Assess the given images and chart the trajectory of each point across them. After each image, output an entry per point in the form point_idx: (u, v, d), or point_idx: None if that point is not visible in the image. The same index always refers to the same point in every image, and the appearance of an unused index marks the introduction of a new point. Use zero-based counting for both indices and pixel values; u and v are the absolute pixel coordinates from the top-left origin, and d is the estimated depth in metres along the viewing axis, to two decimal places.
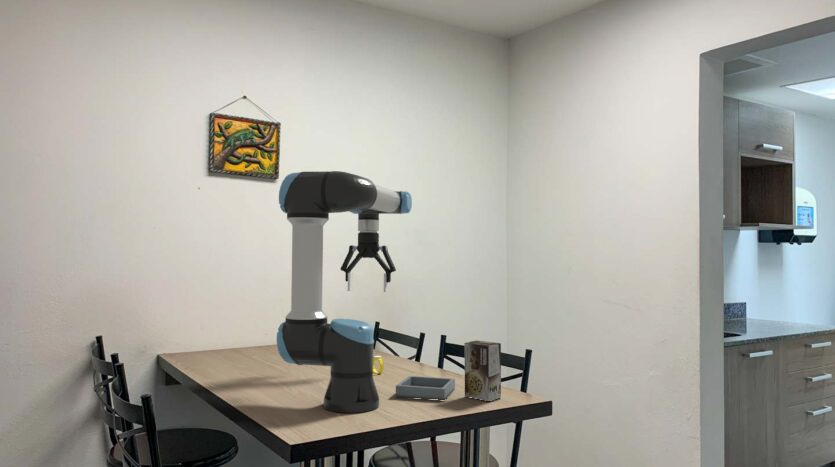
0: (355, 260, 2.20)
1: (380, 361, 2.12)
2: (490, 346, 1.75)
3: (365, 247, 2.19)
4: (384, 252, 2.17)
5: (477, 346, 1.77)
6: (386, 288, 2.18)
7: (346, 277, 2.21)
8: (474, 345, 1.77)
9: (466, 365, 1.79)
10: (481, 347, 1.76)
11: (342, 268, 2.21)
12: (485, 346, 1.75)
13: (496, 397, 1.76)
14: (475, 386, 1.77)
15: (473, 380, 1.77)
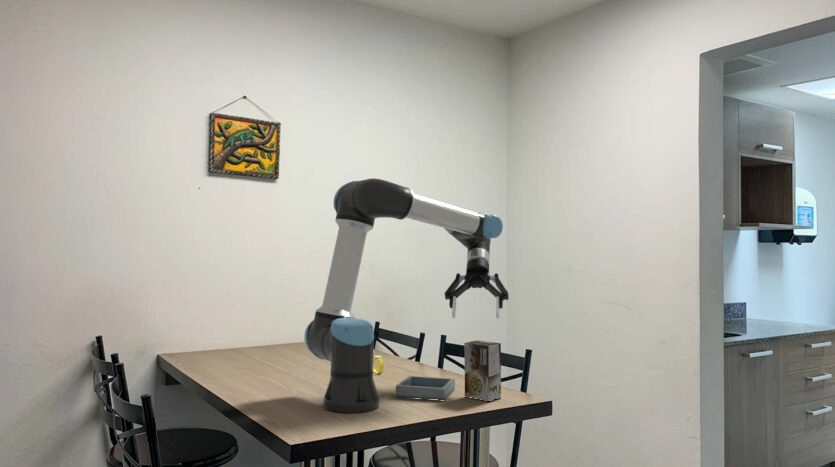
0: (463, 286, 1.98)
1: (380, 361, 2.12)
2: (490, 346, 1.75)
3: (475, 275, 2.00)
4: (497, 279, 1.98)
5: (477, 346, 1.77)
6: (498, 311, 1.89)
7: (450, 301, 1.94)
8: (474, 345, 1.77)
9: (466, 365, 1.79)
10: (481, 347, 1.76)
11: (447, 292, 1.96)
12: (485, 346, 1.75)
13: (496, 397, 1.76)
14: (475, 386, 1.77)
15: (473, 380, 1.77)
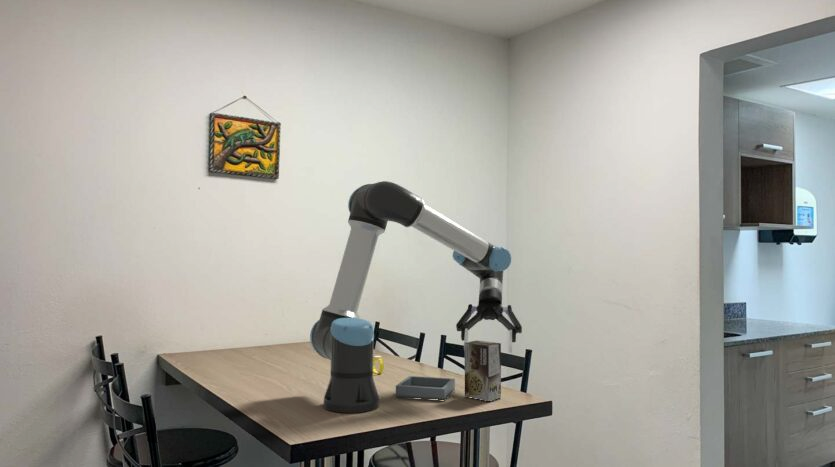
0: (475, 317, 1.93)
1: (380, 361, 2.12)
2: (490, 346, 1.75)
3: (487, 306, 1.96)
4: (510, 311, 1.93)
5: (477, 346, 1.77)
6: (511, 346, 1.85)
7: (462, 334, 1.90)
8: (474, 345, 1.77)
9: (466, 365, 1.79)
10: (481, 347, 1.76)
11: (458, 324, 1.92)
12: (485, 346, 1.75)
13: (496, 397, 1.76)
14: (475, 386, 1.77)
15: (473, 380, 1.77)
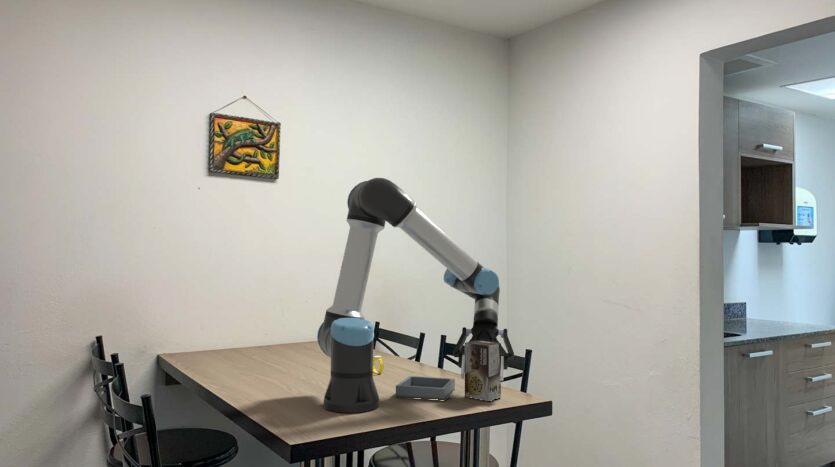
0: None
1: (380, 361, 2.12)
2: (490, 346, 1.75)
3: (482, 327, 1.87)
4: (505, 335, 1.84)
5: (477, 346, 1.77)
6: None
7: (459, 360, 1.80)
8: (474, 345, 1.77)
9: (466, 365, 1.79)
10: (481, 347, 1.76)
11: (455, 350, 1.82)
12: (485, 346, 1.75)
13: (496, 397, 1.76)
14: (475, 386, 1.77)
15: (473, 380, 1.77)
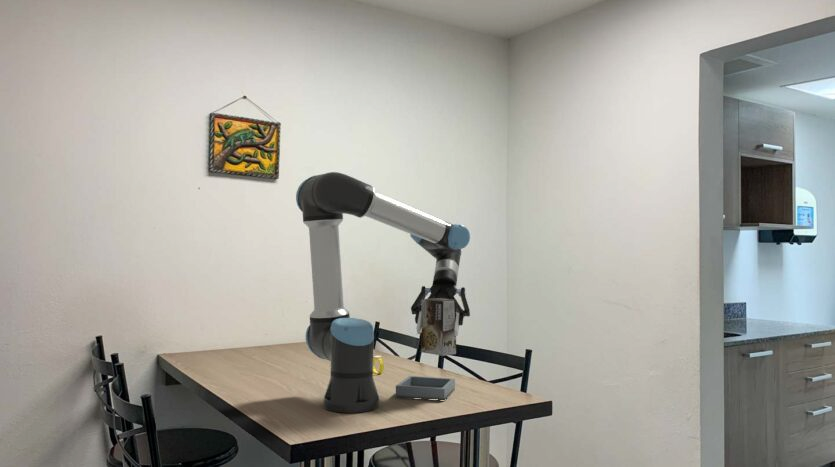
0: None
1: (380, 361, 2.12)
2: (445, 301, 1.79)
3: (441, 286, 1.92)
4: (462, 293, 1.88)
5: (433, 302, 1.81)
6: (457, 328, 1.80)
7: (416, 316, 1.85)
8: (430, 301, 1.82)
9: (423, 321, 1.83)
10: (436, 303, 1.80)
11: (413, 307, 1.87)
12: (440, 301, 1.79)
13: (451, 352, 1.80)
14: (430, 340, 1.81)
15: (429, 335, 1.81)
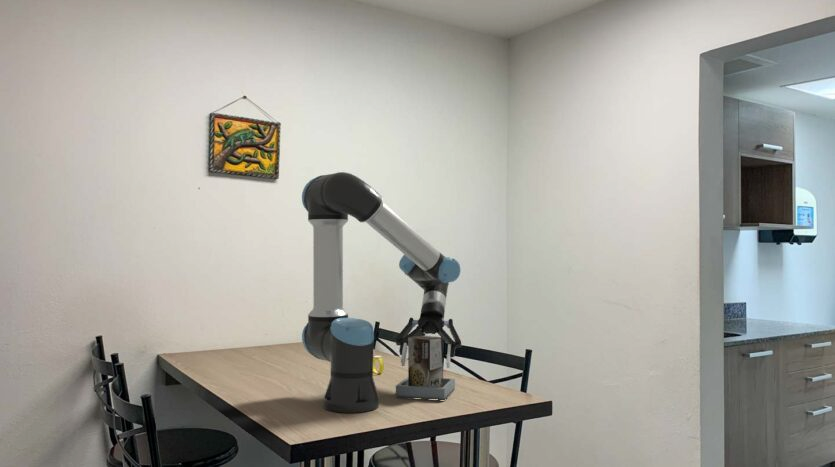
0: (415, 331, 1.89)
1: (380, 361, 2.12)
2: (431, 340, 1.79)
3: (428, 320, 1.92)
4: (451, 325, 1.89)
5: (419, 340, 1.81)
6: (449, 361, 1.80)
7: (400, 348, 1.85)
8: (417, 339, 1.82)
9: (409, 359, 1.84)
10: (423, 341, 1.80)
11: (397, 338, 1.88)
12: (427, 340, 1.79)
13: None
14: (417, 379, 1.81)
15: (416, 374, 1.82)
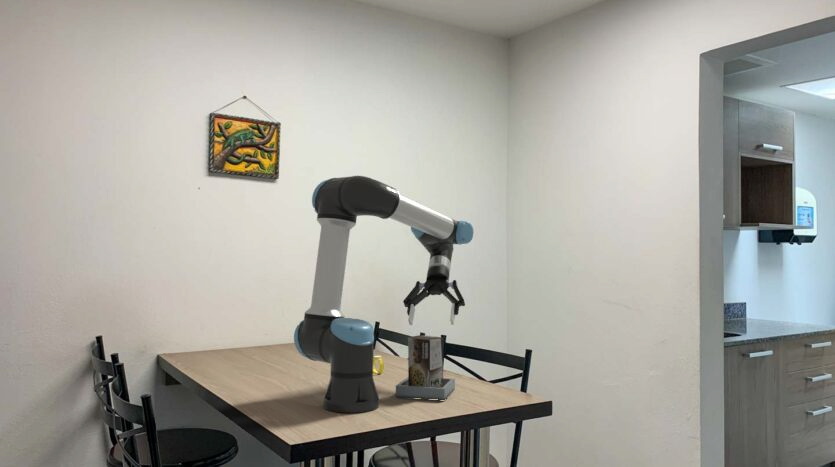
0: (421, 293, 2.02)
1: (380, 361, 2.12)
2: (431, 340, 1.79)
3: (434, 282, 2.05)
4: (454, 285, 2.02)
5: (419, 340, 1.81)
6: (453, 318, 1.93)
7: (408, 309, 1.99)
8: (417, 339, 1.82)
9: (409, 359, 1.84)
10: (423, 341, 1.80)
11: (405, 300, 2.01)
12: (427, 340, 1.79)
13: None
14: (417, 379, 1.81)
15: (416, 374, 1.82)
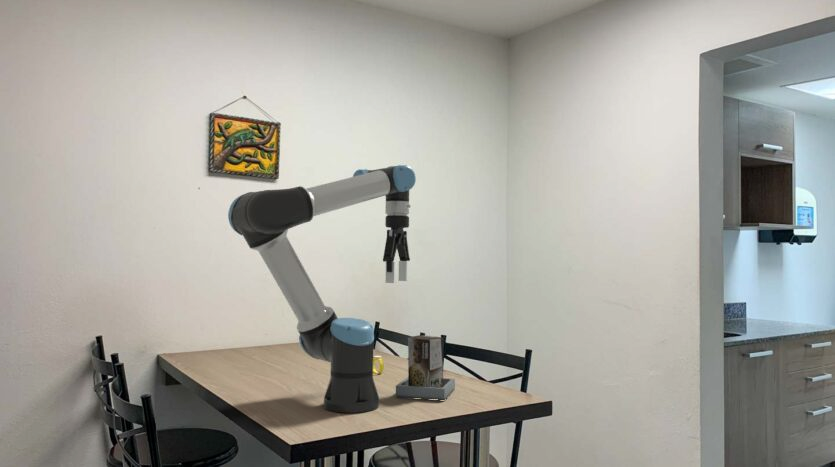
0: None
1: (380, 361, 2.12)
2: (431, 340, 1.79)
3: None
4: None
5: (419, 340, 1.81)
6: (388, 279, 1.88)
7: None
8: (417, 339, 1.82)
9: (409, 359, 1.84)
10: (423, 341, 1.80)
11: None
12: (427, 340, 1.79)
13: None
14: (417, 379, 1.81)
15: (416, 374, 1.82)
